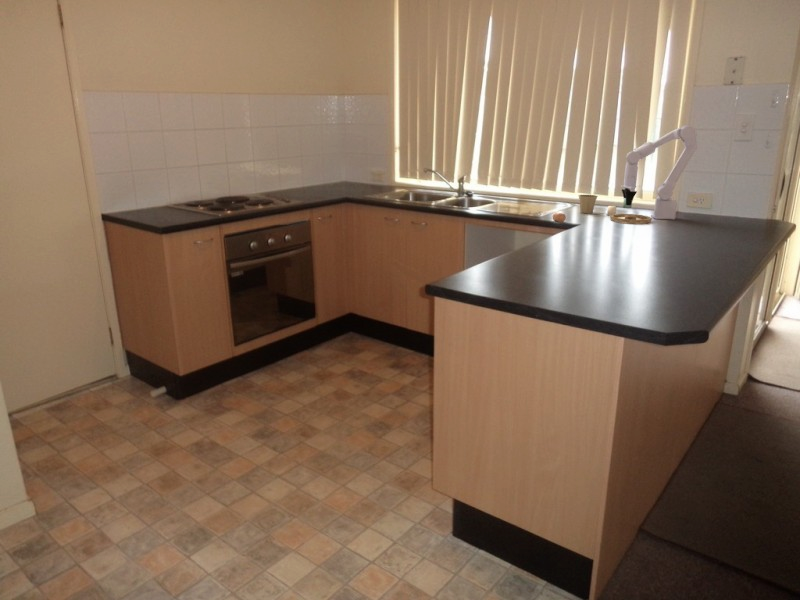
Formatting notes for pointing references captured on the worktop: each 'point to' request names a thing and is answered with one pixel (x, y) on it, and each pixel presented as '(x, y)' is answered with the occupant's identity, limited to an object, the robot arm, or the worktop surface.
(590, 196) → the flower pot
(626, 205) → the bead teal
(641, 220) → the ring tray
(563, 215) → the pink rounded lump
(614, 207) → the bead cream
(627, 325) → the worktop surface
